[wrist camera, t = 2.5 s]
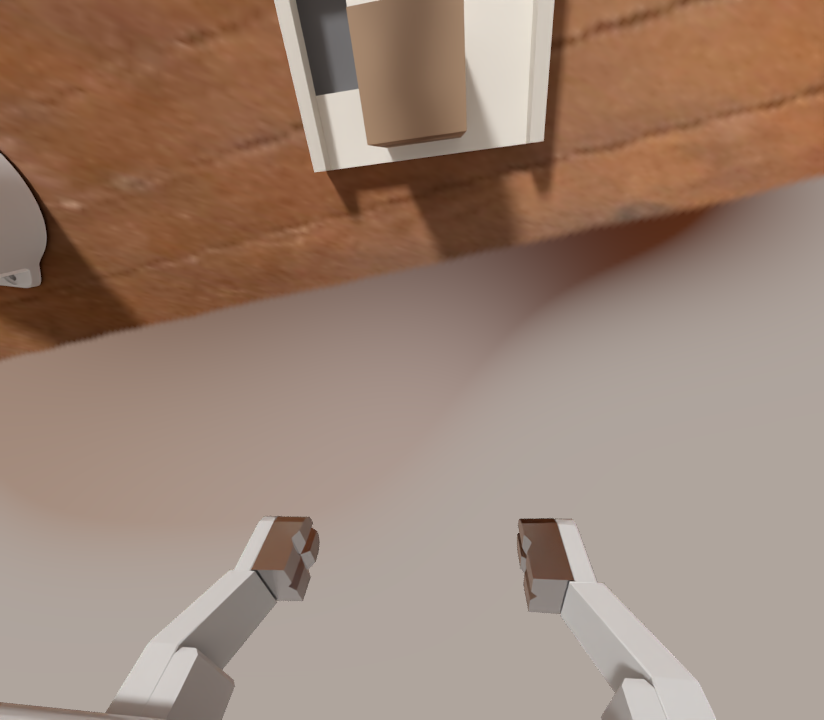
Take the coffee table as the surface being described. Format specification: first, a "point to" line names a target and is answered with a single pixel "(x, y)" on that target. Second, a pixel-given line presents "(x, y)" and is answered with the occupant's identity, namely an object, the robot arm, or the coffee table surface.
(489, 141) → the white rimmed tray
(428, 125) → the walnut block
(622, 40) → the coffee table surface
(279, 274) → the coffee table surface
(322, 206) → the coffee table surface
